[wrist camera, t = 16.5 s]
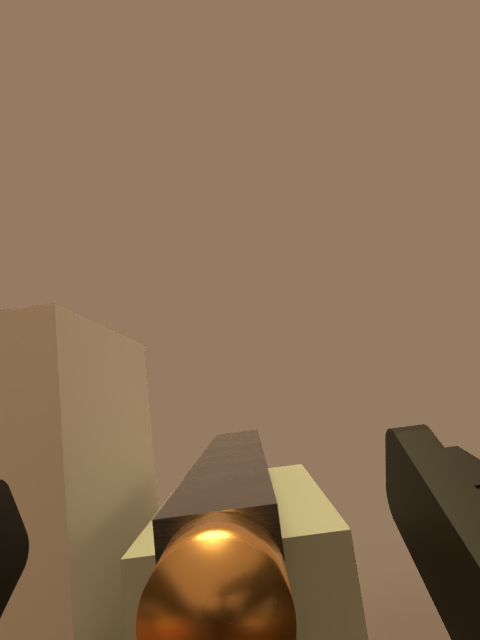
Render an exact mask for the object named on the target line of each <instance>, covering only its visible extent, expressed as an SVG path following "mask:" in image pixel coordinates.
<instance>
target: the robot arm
mask: <svg viewBox="0 0 480 640" xmlns="http://www.w3.org/2000/svg"><path fill="white" fill-rule="evenodd" d="M386 492H387V498H388V503H389V506H390V510H391V513H392V516H393V519H394V521H395V523H396V525H397V527H398V529H399V532H400V534H401V536H402V538H403V540H404V542H405V544H406V546H407V548H408V550H409V552H410V554H411V556H412V559H413V561H414V562H415V565H416V567H417V569H418V571H419V573H420V575H421V577H422V579H423V581H424V583H425V586H426V587H427V590H428V592H429V594H430V596H431V598H432V600H433V602H434V604H435V606H436V608H437V610H438V612H439V615H440V616H441V619H442V621H443V623H444V625H445V627H446V629H447V631H448V633H449V635H450V638H451V640H480V460H479V459H478V458H476V457H475V456H473V455H471V454H470V453H468V452H466V451H465V450H463V449H462V448H460V447H458V446H454V447H447V448H444V446H443V445H442V444H441V442H440V441H439V440H438V439H437V437H436V436H435V435H434V433H433V432H432V431H431V430H430V429H429V427H428V426H426V425H424V424H423V425H415V426H407V427H399V428H393V429H388V430H387V432H386ZM28 554H29V538H28V534H27V531H26V528H25V526H24V523H23V521H22V518H21V516H20V513H19V510H18V508H17V505H16V503H15V500H14V498H13V495H12V493H11V490H10V488H9V486H8V484H7V483H6V482H5V481H4V480H1V479H0V618H1V616H2V614H3V612H4V610H5V608H6V605H7V603H8V601H9V599H10V597H11V595H12V593H13V591H14V589H15V587H16V585H17V583H18V581H19V579H20V577H21V574H22V572H23V570H24V568H25V566H26V563H27V559H28Z"/></svg>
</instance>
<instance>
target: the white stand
mask: <svg viewBox="0 0 480 640" xmlns="http://www.w3.org/2000/svg"><path fill="white" fill-rule="evenodd" d="M0 479H1V480H4V481H5V482H6V483H7V484H8V486H9V488H10V490H11V493H12V495H13V498H14V500H15V503H16V505H17V508H18V510H19V513H20V516H21V518H22V521H23V523H24V526H25V528H26V531H27V534H28V538H29V554H28V559H27V563H26V566H25V568H24V570H23V572H22V574H21V577H20V579H19V581H18V583H17V585H16V587H15V589H14V591H13V593H12V595H11V597H10V599H9V601H8V603H7V605H6V608H5V610H4V612H3V614H2V616H1V618H0V640H126V626H125V613H124V600H123V586H122V573H121V558H122V557H123V556H124V554H125V553H126V552H127V551H128V549H129V548H130V547H131V545H132V544H133V543H134V542H135V540H136V539H137V538H138V536H139V535H140V534H141V533H142V531H143V530H144V529H145V527H146V526H147V525H148V524H149V522H150V521H151V520H152V518H153V517H154V516H155V515H156V513H157V512H158V511H159V509H158V497H157V486H156V475H155V464H154V453H153V442H152V431H151V420H150V409H149V397H148V387H147V376H146V364H145V353H144V345H142V344H140V343H138V342H136V341H134V340H132V339H130V338H127V337H125V336H123V335H121V334H119V333H117V332H114V331H113V330H110V329H108V328H106V327H104V326H102V325H100V324H97V323H95V322H93V321H91V320H89V319H87V318H85V317H82V316H80V315H78V314H76V313H74V312H72V311H70V310H68V309H66V308H63V307H61V306H59V305H57V304H55V303H53V304H45V305H38V306H30V307H23V308H15V309H7V310H0Z"/></svg>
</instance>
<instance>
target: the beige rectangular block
mask: <svg viewBox="0 0 480 640" xmlns="http://www.w3.org/2000/svg"><path fill="white" fill-rule="evenodd" d="M268 471H269V475H270V478H271V482H272V486H273V490H274V493H275V497H276V501H277V505H278V513H279V520H280V527H281V535H282V542H283V550H284V557H285V564H286V571H287V575H288V580H289V584H290V589H291V593H292V598H293V602H294V607H295V613H296V623H297V632H296V640H368V635H367V628H366V622H365V615H364V609H363V603H362V597H361V591H360V584H359V578H358V572H357V566H356V560H355V554H354V547H353V541H352V535H351V529H350V528H349V527H348V525H347V524H346V523H345V521H344V520H343V519H342V517H341V516H340V515H339V513H338V512H337V511H336V509H335V508H334V507H333V505H332V504H331V503H330V501H329V500H328V499H327V497H326V496H325V495H324V494H323V492H322V491H321V490H320V488H319V487H318V486H317V484H316V483H315V482H314V481H313V479H312V478H311V476H310V475H309V474H308V472H307V471H306V470H305V468H304V467H303V466H302V464H299V465H291V466H284V467H276V468H268ZM180 483H181V482H180ZM177 487H178V486H177ZM174 491H175V490H174ZM170 496H171V495H170ZM167 500H168V499H167ZM167 500H166V501H167ZM164 504H165V503H164ZM164 504H163V505H164ZM161 508H162V507H161ZM161 508H160V509H161ZM157 513H158V512H157ZM157 513H156V514H157ZM154 517H155V516H154ZM154 517H153V518H154ZM153 518H152V519H153ZM155 567H156V559H155V547H154V536H153V525H152V520H151V521H150V522H149V524H148V525H147V526H146V527H145V529H144V530H143V531H142V533H141V534H140V535H139V536H138V538H137V539H136V540H135V542H134V543H133V544H132V545H131V547H130V548H129V549H128V551H127V552H126V553H125V554H124V556H123V557H122V558H121V573H122V586H123V600H124V613H125V626H126V640H137V638H136V618H137V610H138V606H139V601H140V598H141V596H142V593H143V590H144V588H145V586H146V584H147V582H148V580H149V578H150V576H151V574H152V572H153V571H154V569H155Z"/></svg>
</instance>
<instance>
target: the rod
mask: <svg viewBox="0 0 480 640" xmlns="http://www.w3.org/2000/svg"><path fill="white" fill-rule="evenodd" d="M152 525H153V536H154V547H155V559H156V567H155V569H154V571H153V572H152V574H151V576H150V578H149V580H148V582H147V584H146V586H145V588H144V590H143V593H142V596H141V598H140V601H139V606H138V610H137V618H136V638H137V640H296V632H297V623H296V613H295V607H294V602H293V598H292V593H291V589H290V584H289V580H288V575H287V571H286V564H285V557H284V550H283V542H282V535H281V527H280V520H279V513H278V505H277V501H276V497H275V493H274V490H273V486H272V482H271V478H270V475H269V471H268V467H267V464H266V460H265V456H264V453H263V449H262V445H261V441H260V438H259V434H258V430H251V431H244V432H236V433H228V434H221V435H217V436H216V437H215V438H214V440H213V441H212V442H211V444H210V445H209V446H208V447H207V449H206V450H205V451H204V453H203V454H202V455H201V457H200V458H199V459H198V461H197V462H196V463H195V464H194V466H193V467H192V468H191V470H190V471H189V472H188V474H187V475H186V476H185V477H184V479H183V480H182V481H181V483H180V484H179V485H178V487H177V488H176V489H175V491H174V492H173V493H172V494H171V496H170V497H169V498H168V500H167V501H166V502H165V504H164V505H163V506H162V508H161V509H160V510H159V511H158V513H157V514H156V515H155V517H154V518H153V519H152Z"/></svg>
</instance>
